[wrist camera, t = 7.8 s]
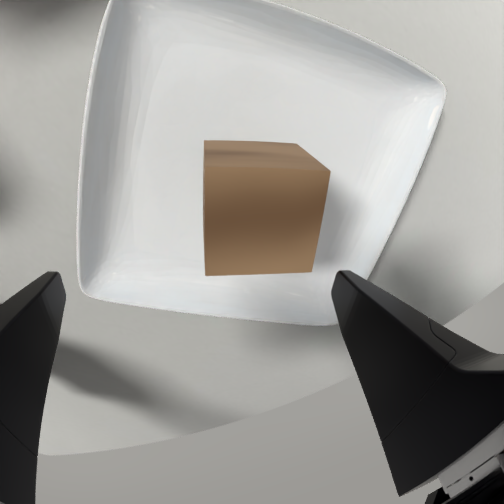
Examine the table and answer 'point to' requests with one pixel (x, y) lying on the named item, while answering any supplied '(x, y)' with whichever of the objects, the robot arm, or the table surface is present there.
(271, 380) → the table surface
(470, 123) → the table surface
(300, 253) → the walnut cube
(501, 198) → the table surface
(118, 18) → the salad plate
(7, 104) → the table surface
